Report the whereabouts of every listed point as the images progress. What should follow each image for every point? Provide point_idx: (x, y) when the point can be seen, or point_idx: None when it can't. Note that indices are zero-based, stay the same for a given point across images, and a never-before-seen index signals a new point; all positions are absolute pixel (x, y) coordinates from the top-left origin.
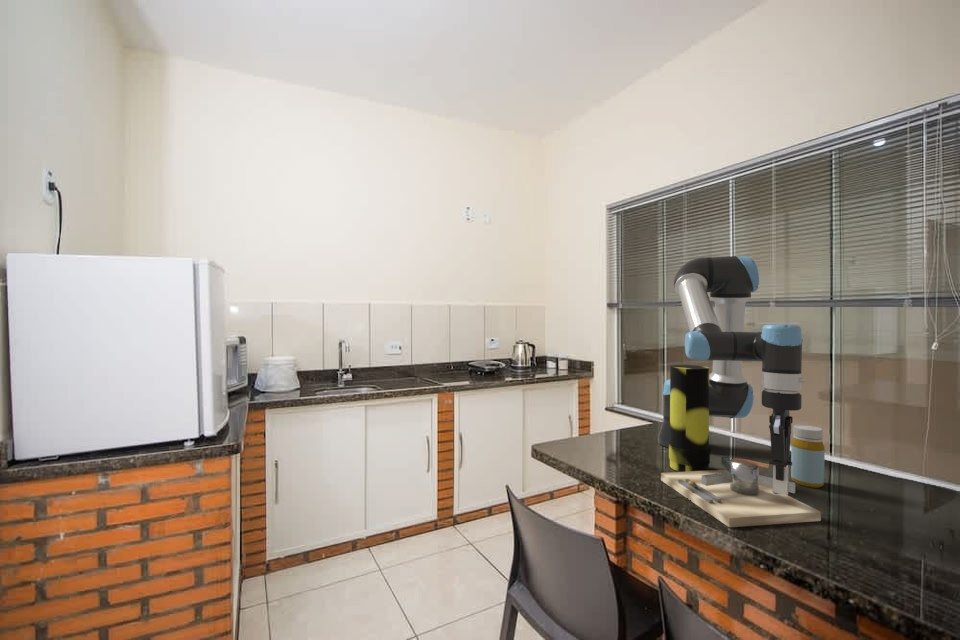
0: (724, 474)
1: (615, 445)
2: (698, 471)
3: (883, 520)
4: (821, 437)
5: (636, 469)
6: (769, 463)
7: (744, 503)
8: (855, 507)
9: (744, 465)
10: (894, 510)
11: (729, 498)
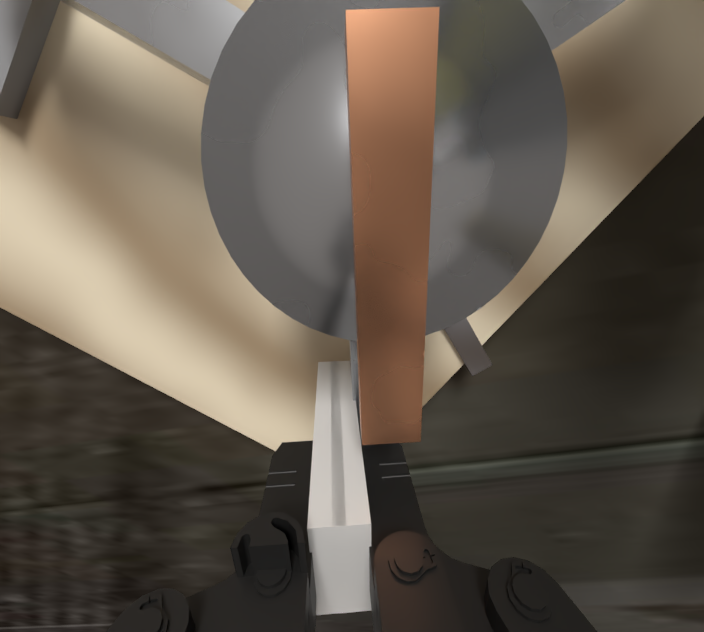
0: (129, 15)
1: None
2: None
3: (490, 559)
4: None
5: None
6: (248, 523)
7: (146, 239)
8: (563, 507)
9: (241, 216)
10: (601, 569)
11: (144, 144)
